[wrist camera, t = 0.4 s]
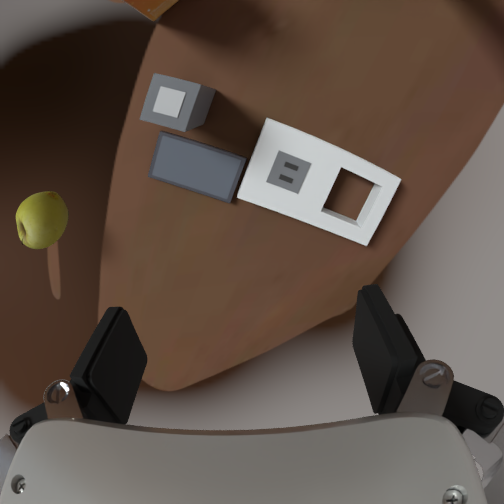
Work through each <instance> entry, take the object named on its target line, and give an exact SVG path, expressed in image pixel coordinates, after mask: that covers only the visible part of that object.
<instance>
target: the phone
mask: <svg viewBox="0 0 504 504" xmlns="http://www.w3.org/2000/svg"><path fill="white" fill-rule="evenodd" d="M246 158H247V157H244V156H241V155H238V154H235V153H232V152H229V151H226V150H223V149H220V148H217V147H214V146H211V145H208V144H205V143H202V142H199V141H195V140H192V139H189V138H185V137H182V136H179V135H175V134H172V133H168V132H165V131H160V133H159V137H158V140H157V144H156V147H155V151H154V155H153V159H152V162H151V166H150V170H149V174H148V177H150V178H154V179H157V180H160V181H163V182H166V183H170V184H173V185H176V186H179V187H182V188H185V189H188V190H191V191H194V192H197V193H200V194H203V195H206V196H209V197H212V198H215V199H218V200H221V201H224V202H227V203H230V202H231V199H232V196H233V193H234V191H235V188H236V185H237V183H238V180H239V177H240V174H241V172H242V169H243V166H244V164H245V161H246Z"/></svg>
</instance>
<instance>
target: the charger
mask: <svg viewBox="0 0 504 504" xmlns="http://www.w3.org/2000/svg"><path fill="white" fill-rule="evenodd" d="M215 92H216V90H215V89H213V88H210V87H207V86H203V85H200V84H197V83H193V82H189V81H185V80H181V79H177V78H173V77H169V76H165V75H160V74H156V73H154V75H153V78H152V81H151V84H150V87H149V90H148V93H147V96H146V100H145V103H144V106H143V110H142V113H141V116H140V120H144V121H147V122H151V123H155V124H159V125H162V126H166V127H169V128H173V129H176V130H180V131H183V132H186V131H188V130H191V129H193V128H196V127H198V126H200V125H203V124H204V122H205V119H206V116H207V114H208V111H209V108H210V105H211V102H212V100H213V97H214V94H215Z"/></svg>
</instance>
